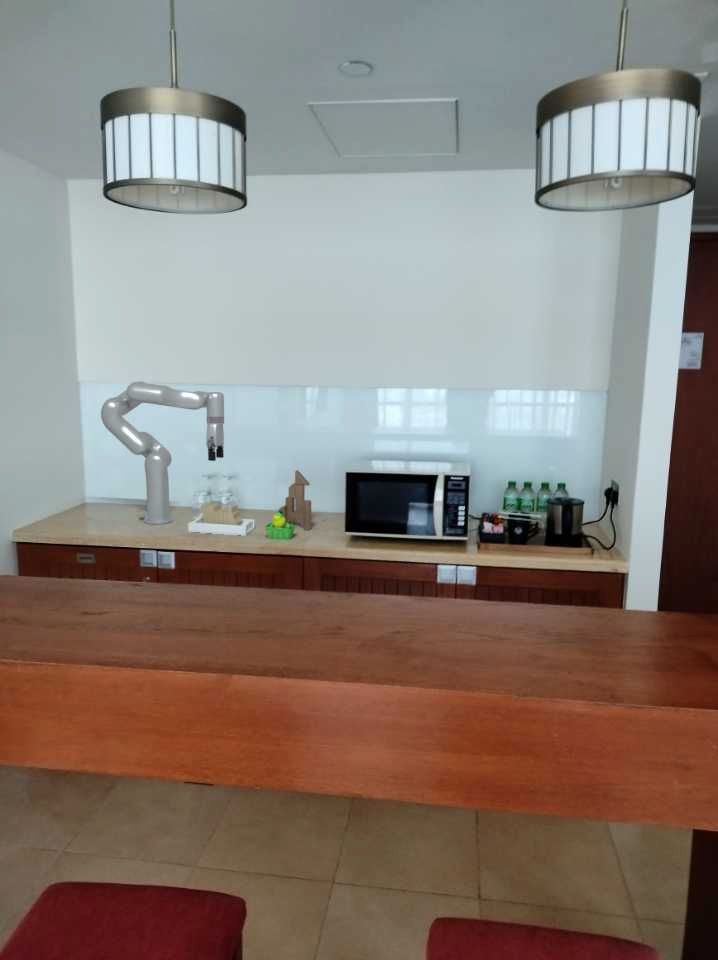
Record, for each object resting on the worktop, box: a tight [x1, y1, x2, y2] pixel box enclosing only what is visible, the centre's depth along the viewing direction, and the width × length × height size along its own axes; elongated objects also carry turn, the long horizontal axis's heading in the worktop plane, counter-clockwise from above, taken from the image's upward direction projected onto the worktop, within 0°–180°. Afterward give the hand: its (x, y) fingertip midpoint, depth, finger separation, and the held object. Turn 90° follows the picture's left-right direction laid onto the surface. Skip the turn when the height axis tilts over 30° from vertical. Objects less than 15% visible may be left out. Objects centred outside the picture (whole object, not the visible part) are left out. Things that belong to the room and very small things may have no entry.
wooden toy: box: [277, 469, 312, 531], centre depth 298 cm, size 16×7×25 cm, turn 72°
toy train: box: [200, 502, 243, 525], centre depth 291 cm, size 6×17×10 cm, turn 72°
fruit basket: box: [264, 512, 296, 541], centre depth 281 cm, size 11×9×11 cm
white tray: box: [187, 515, 256, 537], centre depth 291 cm, size 25×13×4 cm, turn 81°
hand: (216, 459), depth 303 cm, fingers open, 9 cm apart
